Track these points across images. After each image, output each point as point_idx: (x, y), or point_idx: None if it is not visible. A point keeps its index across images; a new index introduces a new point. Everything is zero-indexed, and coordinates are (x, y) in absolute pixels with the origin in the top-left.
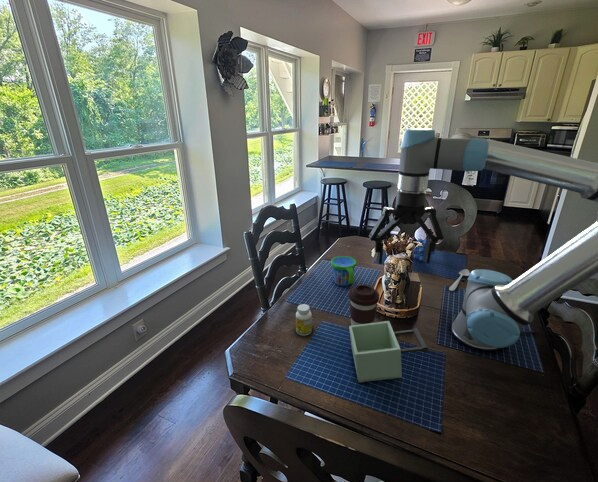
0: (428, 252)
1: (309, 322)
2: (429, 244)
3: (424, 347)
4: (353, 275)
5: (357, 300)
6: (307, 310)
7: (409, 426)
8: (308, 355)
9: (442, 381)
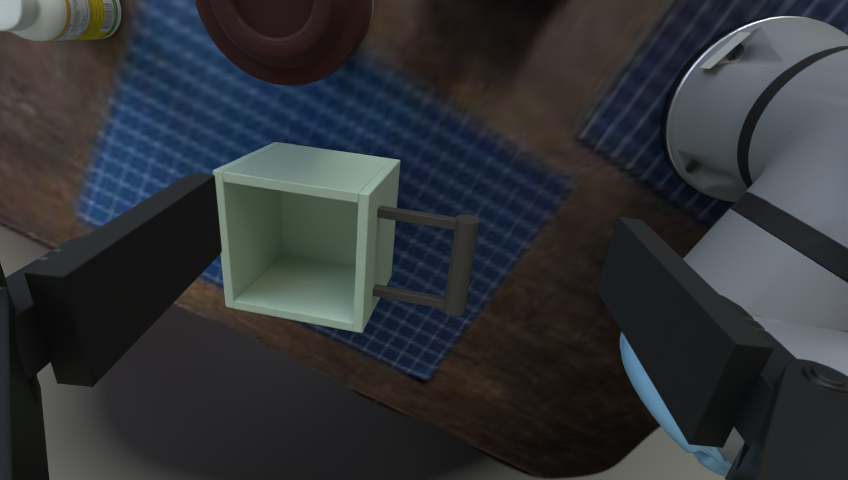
0: (636, 355)
1: (76, 31)
2: (676, 423)
3: (450, 315)
4: None
5: (234, 61)
6: (18, 25)
7: (369, 364)
8: (130, 141)
9: (502, 276)
